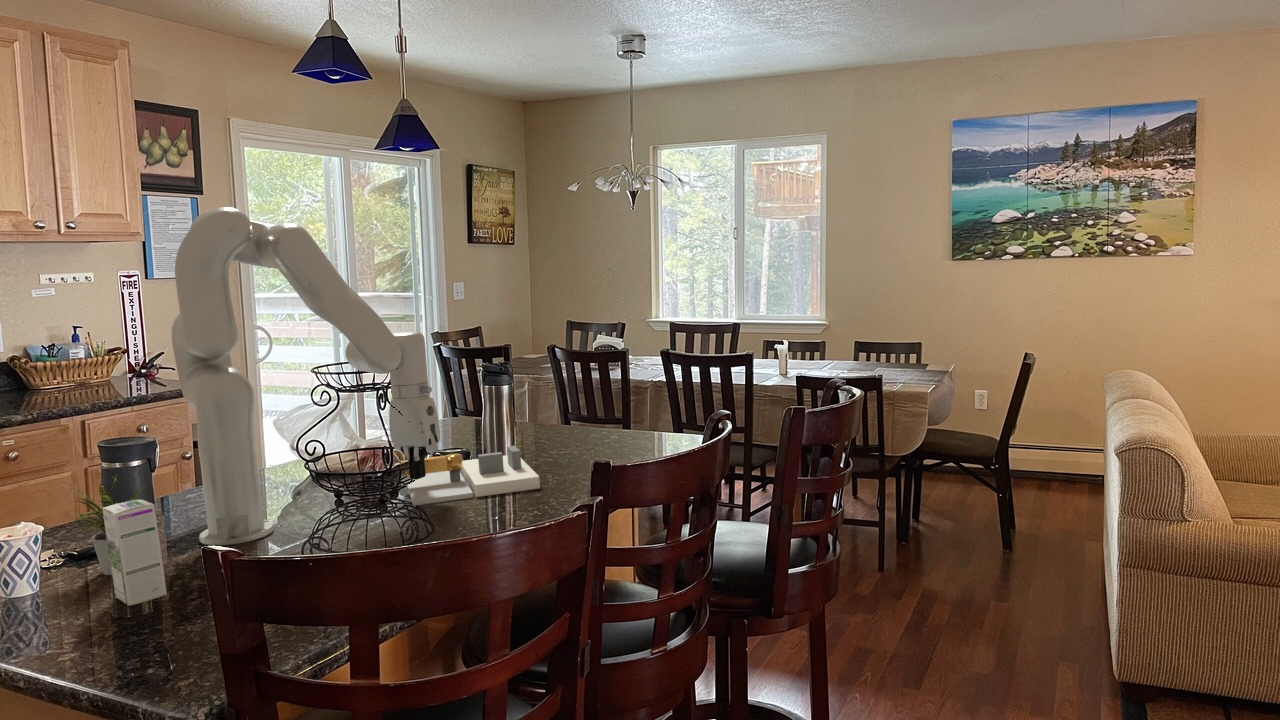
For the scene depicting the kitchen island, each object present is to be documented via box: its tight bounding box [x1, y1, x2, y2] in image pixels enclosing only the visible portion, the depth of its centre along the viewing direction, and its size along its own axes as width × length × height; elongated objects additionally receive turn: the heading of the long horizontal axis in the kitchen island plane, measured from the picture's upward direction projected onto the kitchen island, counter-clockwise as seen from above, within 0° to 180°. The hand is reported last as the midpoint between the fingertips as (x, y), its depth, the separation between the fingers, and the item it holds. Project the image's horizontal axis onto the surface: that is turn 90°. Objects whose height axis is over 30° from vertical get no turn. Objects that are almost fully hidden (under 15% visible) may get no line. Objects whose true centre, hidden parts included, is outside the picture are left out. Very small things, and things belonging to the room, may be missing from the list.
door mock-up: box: [406, 445, 541, 506], centre depth 192 cm, size 24×26×6 cm
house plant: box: [63, 473, 149, 576], centre depth 147 cm, size 14×14×16 cm
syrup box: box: [102, 498, 168, 606], centre depth 134 cm, size 6×6×14 cm
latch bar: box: [400, 453, 463, 477], centre depth 190 cm, size 13×4×3 cm, turn 109°
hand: (417, 477), depth 185 cm, fingers closed
